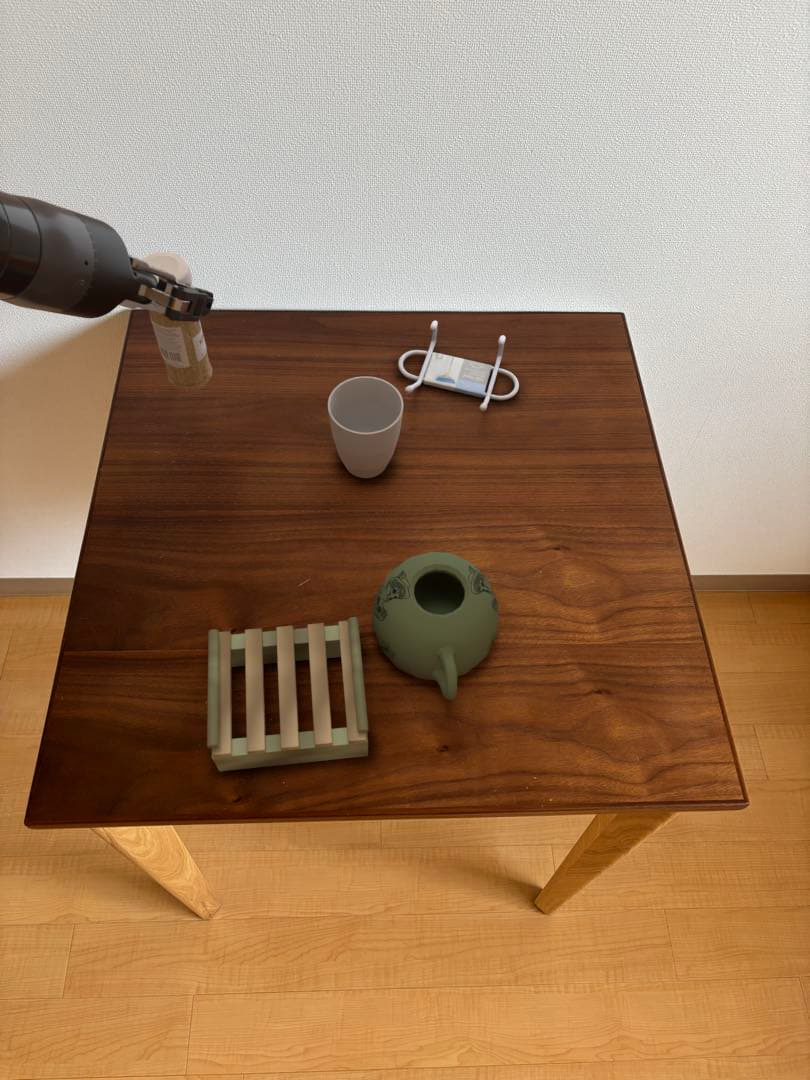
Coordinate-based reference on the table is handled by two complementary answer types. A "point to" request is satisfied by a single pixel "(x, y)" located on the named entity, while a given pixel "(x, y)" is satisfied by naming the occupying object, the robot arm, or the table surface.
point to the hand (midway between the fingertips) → (184, 293)
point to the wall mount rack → (458, 372)
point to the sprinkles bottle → (180, 333)
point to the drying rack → (285, 695)
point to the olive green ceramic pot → (436, 618)
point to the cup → (365, 423)
